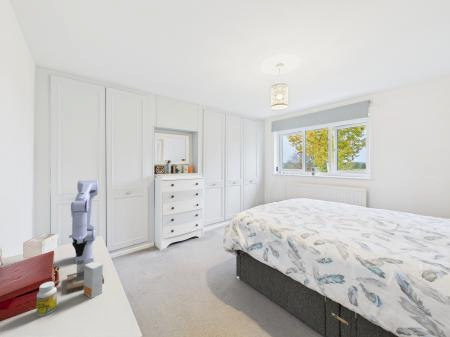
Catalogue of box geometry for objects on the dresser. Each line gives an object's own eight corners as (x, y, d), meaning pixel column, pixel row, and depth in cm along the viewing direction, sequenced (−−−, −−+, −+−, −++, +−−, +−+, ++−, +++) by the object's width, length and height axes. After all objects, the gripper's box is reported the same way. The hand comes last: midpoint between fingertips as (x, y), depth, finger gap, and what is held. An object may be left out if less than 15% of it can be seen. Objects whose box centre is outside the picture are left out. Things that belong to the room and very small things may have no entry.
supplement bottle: (59, 304, 75) (60, 279, 75) (50, 315, 70) (51, 288, 69) (42, 306, 74) (43, 280, 73) (32, 317, 68) (32, 289, 68)
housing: (92, 272, 93) (92, 257, 93) (93, 276, 90) (93, 261, 90) (76, 276, 90) (76, 261, 90) (77, 281, 87) (77, 265, 86)
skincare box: (83, 294, 81) (83, 264, 81) (94, 288, 85) (94, 260, 85) (91, 299, 78) (92, 268, 78) (102, 293, 82) (103, 264, 82)
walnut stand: (66, 279, 91) (66, 274, 91) (100, 270, 99) (100, 266, 99) (66, 294, 81) (66, 289, 81) (103, 283, 89) (103, 278, 89)
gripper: (69, 222, 100) (68, 249, 100) (69, 231, 88) (68, 261, 88) (86, 220, 104) (85, 246, 104) (88, 228, 92) (87, 257, 93)
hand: (79, 253), depth 96 cm, fingers open, 7 cm apart
